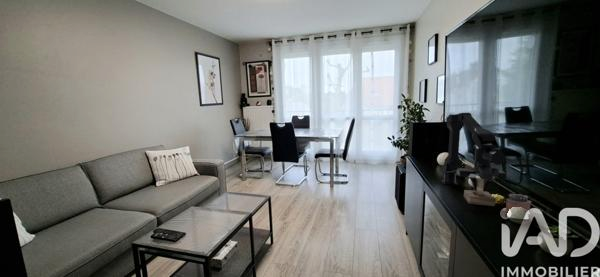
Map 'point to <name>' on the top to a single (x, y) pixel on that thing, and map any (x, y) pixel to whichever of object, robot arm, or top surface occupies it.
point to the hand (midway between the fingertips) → (479, 191)
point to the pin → (479, 187)
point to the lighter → (517, 202)
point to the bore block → (479, 198)
